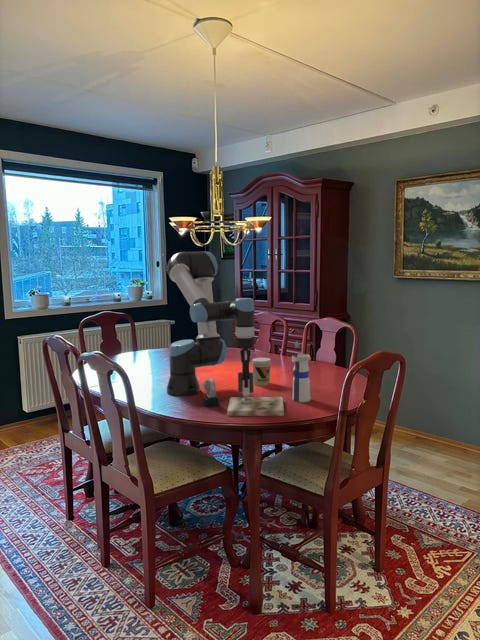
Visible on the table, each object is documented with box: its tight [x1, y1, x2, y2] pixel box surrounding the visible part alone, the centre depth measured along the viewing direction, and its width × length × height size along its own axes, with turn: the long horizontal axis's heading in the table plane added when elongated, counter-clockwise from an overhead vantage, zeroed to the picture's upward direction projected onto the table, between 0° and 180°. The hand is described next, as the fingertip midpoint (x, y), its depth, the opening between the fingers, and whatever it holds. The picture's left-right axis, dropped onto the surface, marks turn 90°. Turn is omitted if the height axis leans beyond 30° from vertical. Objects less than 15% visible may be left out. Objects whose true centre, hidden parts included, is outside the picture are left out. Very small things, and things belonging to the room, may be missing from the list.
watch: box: [202, 378, 220, 408], centre depth 202 cm, size 6×8×11 cm
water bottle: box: [291, 340, 312, 403], centre depth 206 cm, size 8×9×25 cm
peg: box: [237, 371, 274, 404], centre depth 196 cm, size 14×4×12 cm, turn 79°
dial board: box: [226, 396, 285, 417], centre depth 197 cm, size 22×18×2 cm
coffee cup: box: [251, 357, 272, 387], centre depth 233 cm, size 9×9×12 cm
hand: (246, 392), depth 197 cm, fingers open, 5 cm apart
